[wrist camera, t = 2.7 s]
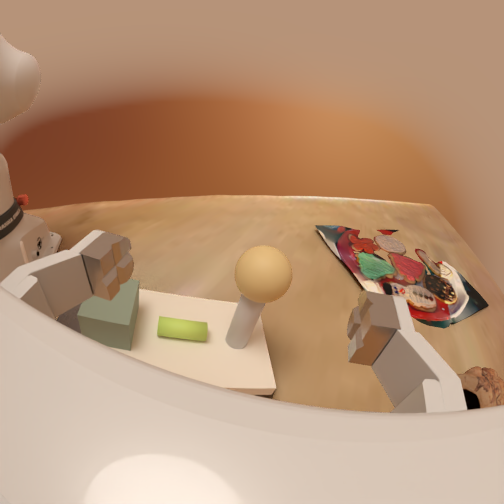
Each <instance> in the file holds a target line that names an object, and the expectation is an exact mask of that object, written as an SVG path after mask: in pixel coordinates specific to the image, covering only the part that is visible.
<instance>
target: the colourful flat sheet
mask: <svg viewBox="0 0 504 504" xmlns="http://www.w3.org/2000/svg"><path fill="white" fill-rule="evenodd" d="M315 226H316V228H317V229H318V231H319V232H320V234H321V235H322V237H323V238H324V240H325V241H326V243H327V244H328V246H329V247H330V248H331V250H332V251H333V252H334V253H335V254H336V255H337V256H338V257H339V258H340V259H341V260H342V261H343V262H344V263H345V264H346V265H347V266H348V267H349V269H350V270H351V271H352V272H353V274H354V275H355V276H356V278H357V279H358V281H359V282H360V283H361V285H362V286H363V288H364V289H365V291H370V292H375V293H381V294H386V295H394V296H400V297H404V298H405V299H406V302H407V305H408V309H409V312H410V315H411V317H413V318H415V319H416V320H418V321H419V322H421V323H423V324H426V325H429V326H434V327H440V328H446V327H448V326H449V325H450V323H452V324H454V323H456V322H459V321H461V320H463V319H465V318H467V317H469V316H470V315H472V314H473V313H475V312H477V311H478V310H480V309H482V308H485V307H487V306H489V305H488V304H487V302H486V301H485V300H484V299H483V298H482V296H481V295H480V294H479V293H478V292H477V291H476V290H475V289H474V288H473V287H472V286H471V285H470V284H469V283H468V282H467V281H466V280H465V278H464V277H463V276H462V275H461V274H460V273H459V272H458V271H456V270H455V269H454V268H453V267H451V266H450V265H448V264H447V263H446V262H442V261H441V262H438V263H435V262H433V261H432V260H431V259H430V258H429V257H428V256H427V255H426V253H425V252H424V251H423V250H421V249H415V252H416V254H417V255H418V257H419V258H420V259H421V260H422V262H423V263H424V264H425V265H426V266H427V268H428V270H429V271H430V273H431V275H427V271H426V267H425V265H423V264H422V263H421V262H417V261H415V260H413V259H411V258H409V257H406V256H403V255H404V254H405V253H406V249H405V247H404V245H403V244H402V243H401V242H400V241H398V240H397V239H395V238H393V237H389V236H384V235H391V234H392V233H393V232H396V231H399V230H377V231H380V232H381V233H382V234H384V235H380V236H376V237H374V241H375V243H376V244H377V245H375V244H373V243H374V241H373V240H371V239H368V238H361V239H360V238H358V234H359V232H360V230H355V229H351V228H347V227H343V226H317V225H315ZM380 249H382V250H384V251H386V252H388V253H389V254H388V257H389V259H390V261H391V263H392V266H391V265H390V264H389V263H387V262H386V260H384V259H383V258H382V257H380V256H378V255H376V254H375V253H374V251H379V250H380ZM353 251H357V252H360V253H357V254H356V253H354V252H353ZM399 278H400V280H398V279H399Z"/></svg>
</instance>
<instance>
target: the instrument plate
mask: <svg viewBox="0 0 504 504" xmlns="http://www.w3.org/2000/svg"><path fill="white" fill-rule="evenodd" d="M235 281H236V284H237V287H238V289H239V290H240V292H241V293H242V294H241V297H240V300H239V302H238V303H234V302H226V301H218V300H210V299H203V298H195V297H188V296H182V295H175V294H168V293H162V292H156V291H150V290H144V289H139V281H138V280H133V279H129V280H128V281H127V282H126V283H124V284H121V285H120V291H119V292H118V293H117V294H116V296H115V297H114V298H113V299H112V300H111V301H109V300H106V299H103V298H100V297H97V296H94V295H93V297H91V298H89V299H87V300H86V301H84V302H82V304H81V306H80V309H79V311H78V314H77V316H78V321H79V325H80V329H81V334H82V335H84V336H86V337H88V338H90V339H92V340H95V341H97V342H99V343H101V344H103V345H105V346H108V347H110V348H112V349H114V350H117V351H119V352H121V353H124V354H126V355H128V356H131V357H133V358H136V359H138V360H141V361H143V362H146V363H148V364H151V365H154V366H156V367H159V368H162V369H165V370H167V371H170V372H173V373H176V374H179V375H182V376H185V377H188V378H192V379H195V380H198V381H201V382H205V383H208V384H212V385H215V386H219V387H222V388H226V389H230V390H234V391H238V392H242V393H246V394H251V395H272V393H273V392H274V391H275V389H276V384H275V380H274V375H273V371H272V366H271V361H270V357H269V352H268V348H267V343H266V339H265V334H264V330H263V325H262V321H261V316H260V315H261V312H262V310H263V308H264V306H265V304H266V303H269V302H273V301H275V300H277V299H279V298H280V297H282V296H283V295H284V294H285V293H286V292H287V290H288V288H289V287H290V284H291V281H292V268H291V264H290V262H289V260H288V258H287V257H286V256H285V255H284V254H283V253H282V252H281V251H280V250H278V249H276V248H274V247H271V246H256V247H253V248H251V249H249V250H247V251H246V252H245V253H244V254H243V255H242V256H241V257H240V258H239V260H238V262H237V264H236V268H235Z"/></svg>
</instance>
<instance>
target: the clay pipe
mask: <svg viewBox="0 0 504 504" xmlns="http://www.w3.org/2000/svg"><path fill="white" fill-rule="evenodd" d="M457 376H458V377H459V378H460V380H461V384H462V388H463V392H464V397H465V401H466V406H467V410H471V409H480V408H487V407H493V406H499V405H504V381H503V380H502V379H501V378H500V377H498V374H497V372H496V371H495V370H494V369H491V368H489V369H488V368H482V369H481V367H478V366H477V367H473V368H471V369H469V370H468V371H466V372H465V373H464V374H457Z"/></svg>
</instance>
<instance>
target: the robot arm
mask: <svg viewBox="0 0 504 504" xmlns="http://www.w3.org/2000/svg"><path fill="white" fill-rule="evenodd" d="M40 82H41V73H40V68H39V65H38V63H37V61H36V60H35V58H34V57H33V56H32V55H31V54H29V53H25V52H23V51H20V50H18V49H16V48H14V47H13V46H12V45H10V44H9V43H8V42H7V41H6V40H5V39H4V38H3V36H2V35H1V34H0V124H3V123H5V122H7V121H9V120H11V119H13V118H14V117H16V116H18V115H20V114H22V113H23V112H25V111H27V110H28V109H29V108H30V107H31V105H32V104H33V102H34V100H35V98H36V96H37V94H38V91H39V87H40ZM27 201H28V197H27V195H26V194H24V195H19V196H18V197H17V198H14V197H13V193H12V188H11V184H10V178H9V172H8V165H7V162H6V160H5V158H4V156H3V155H2V154H0V504H504V405H499V406H493V407H487V408H480V409H471V410H467V406H466V401H465V397H464V392H463V388H462V384H461V380H460V378H459V377H458V376H457V375H456V374H455V372H454V371H453V370H452V369H451V368H450V367H449V365H448V364H447V363H446V362H445V361H444V360H443V359H442V357H441V356H440V355H439V354H438V353H437V352H436V351H435V350H434V348H433V347H432V346H431V345H430V344H429V343H428V342H427V341H426V340H425V339H424V338H423V336H422V335H421V334H420V333H418V332H415V329H414V326H413V322H412V319H411V315H410V312H409V309H408V305H407V302H406V299H405V298H404V297H400V296H394V295H386V294H381V293H375V292H370V291H365V290H363V291H362V292H361V294H360V296H359V298H358V305H359V306H357V307H356V308H354V309H353V311H352V313H351V315H350V318H349V322H348V328H347V336H348V337H349V339H350V340H351V342H350V343H349V345H348V362H350V363H356V364H362V365H369V366H372V369H373V371H374V373H375V374H376V376H377V378H378V379H379V381H380V383H381V384H382V386H383V388H384V390H385V391H386V393H387V395H388V397H389V398H390V400H391V402H392V404H393V406H394V407H395V408H394V409H393V410H392V411H391V412H390V413H386V412H366V411H353V410H342V409H333V408H324V407H317V406H310V405H303V404H297V403H291V402H285V401H280V400H274V399H269V398H264V397H260V396H255V395H251V394H246V393H242V392H238V391H234V390H230V389H226V388H222V387H219V386H215V385H212V384H208V383H205V382H201V381H198V380H195V379H192V378H188V377H185V376H182V375H179V374H176V373H173V372H170V371H167V370H165V369H162V368H159V367H156V366H154V365H151V364H148V363H146V362H143V361H141V360H138V359H136V358H133V357H131V356H128V355H126V354H124V353H121V352H119V351H117V350H114V349H112V348H110V347H108V346H105V345H103V344H101V343H99V342H97V341H95V340H92V339H90V338H88V337H86V336H84V335H82V334H80V333H78V332H76V331H74V330H72V329H71V328H69V327H67V326H65V325H63V324H61V323H59V322H58V321H56V319H55V318H56V317H57V316H59V315H61V314H63V313H64V312H66V311H68V310H70V309H71V308H73V307H75V306H77V305H78V304H80V303H82V302H84V301H86V300H87V299H89V298H91V297H93V295H94V296H97V297H100V298H103V299H106V300H109V301H111V300H112V299H113V298H114V297H115V296H116V294H117V293H118V292H119V291H120V285H121V284H124V283H126V282H127V281H128V280H129V279H130V277H131V275H132V272H133V267H134V262H133V258H132V256H131V255H130V253H129V251H130V250H131V243H130V240H129V239H128V238H127V237H123V236H120V235H116V234H112V233H108V232H104V231H100V230H93V231H92V232H91V233H90V234H88V235H87V236H86V237H85V238H83V239H82V240H81V241H80V242H79V243H77V244H76V245H75V246H74V247H73V248H71V249H70V250H64V251H61V252H58V253H57V250H58V248H59V245H60V243H61V240H62V238H61V236H60V235H59V234H57V233H54V232H49V229H48V227H47V224H46V222H45V221H44V220H43V219H42V218H40V217H36V216H33V215H30V214H26V213H24V212H23V211H22V209H21V207H20V205H27V203H28V202H27Z"/></svg>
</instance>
